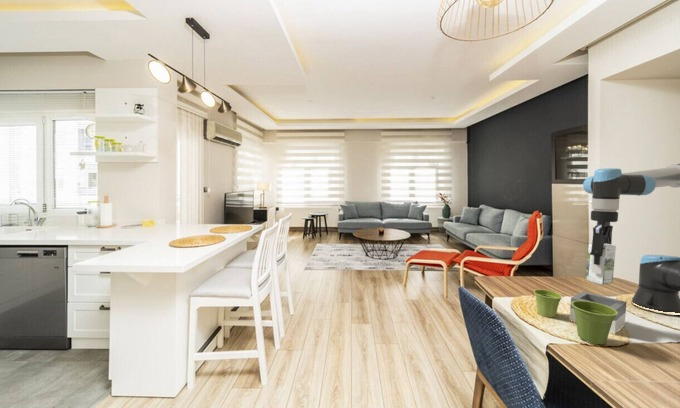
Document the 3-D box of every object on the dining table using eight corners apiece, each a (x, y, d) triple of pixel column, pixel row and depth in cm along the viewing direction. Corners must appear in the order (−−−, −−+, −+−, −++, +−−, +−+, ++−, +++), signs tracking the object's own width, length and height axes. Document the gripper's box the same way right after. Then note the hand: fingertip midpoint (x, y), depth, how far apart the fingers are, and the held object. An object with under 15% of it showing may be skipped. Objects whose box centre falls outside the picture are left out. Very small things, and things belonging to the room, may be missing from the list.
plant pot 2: (560, 330, 105) (562, 299, 104) (594, 331, 105) (597, 300, 104) (587, 349, 93) (590, 314, 93) (626, 350, 93) (628, 315, 92)
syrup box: (595, 278, 114) (597, 242, 113) (613, 283, 109) (616, 245, 108) (585, 280, 112) (587, 242, 112) (603, 285, 107) (606, 245, 106)
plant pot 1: (562, 314, 119) (563, 293, 118) (559, 322, 112) (560, 300, 111) (535, 307, 125) (536, 287, 124) (530, 314, 118) (531, 293, 118)
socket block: (581, 312, 121) (582, 291, 120) (624, 325, 110) (626, 301, 109) (569, 320, 113) (571, 297, 113) (614, 334, 103) (616, 309, 102)
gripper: (599, 209, 118) (595, 265, 119) (582, 210, 106) (578, 272, 108) (625, 210, 111) (620, 270, 113) (610, 212, 100) (604, 278, 102)
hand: (599, 271), depth 110 cm, fingers closed on syrup box, 7 cm apart
